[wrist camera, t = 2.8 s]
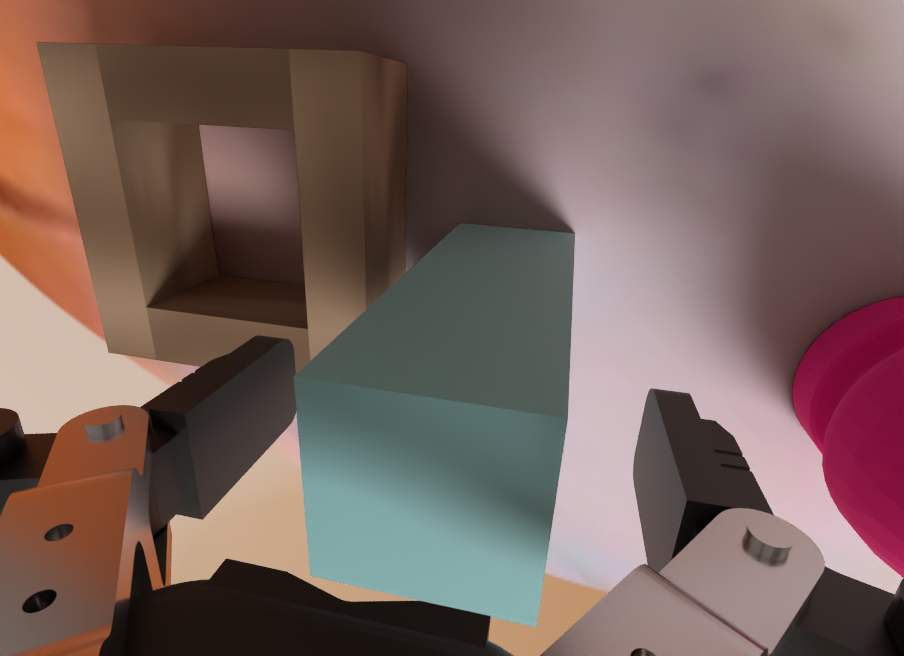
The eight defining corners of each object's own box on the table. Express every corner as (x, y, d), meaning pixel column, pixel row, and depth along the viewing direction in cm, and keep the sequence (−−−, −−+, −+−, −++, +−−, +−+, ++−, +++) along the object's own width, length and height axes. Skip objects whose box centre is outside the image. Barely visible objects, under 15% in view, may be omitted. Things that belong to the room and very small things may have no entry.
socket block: (140, 55, 19) (36, 41, 15) (406, 63, 17) (360, 50, 13) (183, 314, 23) (108, 352, 19) (404, 344, 21) (368, 392, 17)
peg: (459, 222, 19) (293, 376, 8) (574, 233, 18) (567, 418, 7) (454, 326, 20) (310, 576, 9) (560, 340, 19) (536, 627, 9)
